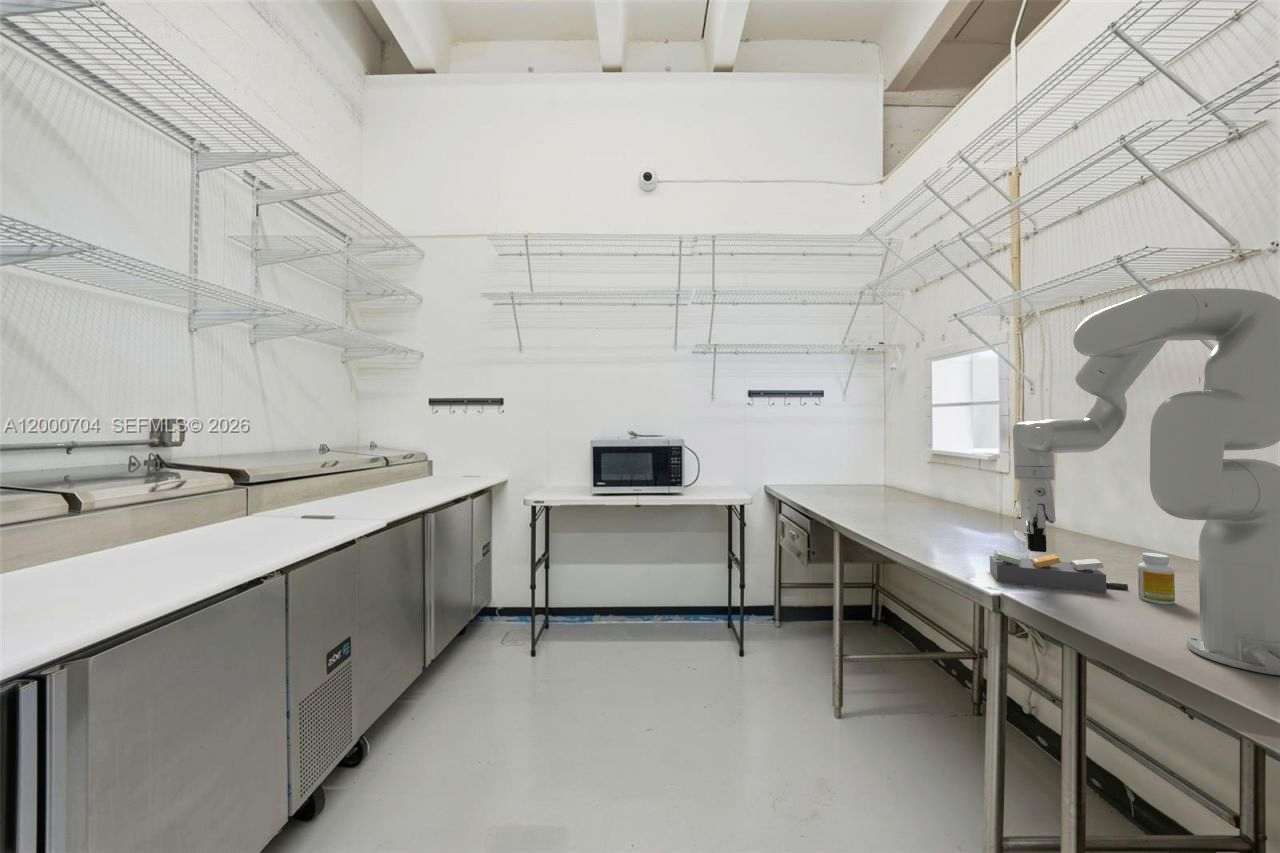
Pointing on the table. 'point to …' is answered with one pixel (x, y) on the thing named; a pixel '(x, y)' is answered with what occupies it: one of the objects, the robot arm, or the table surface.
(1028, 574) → the power strip
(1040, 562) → the orange white-striped slab
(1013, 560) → the green rocker
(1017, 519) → the wineglass
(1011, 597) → the table surface
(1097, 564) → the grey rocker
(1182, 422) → the robot arm
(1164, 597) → the supplement bottle
